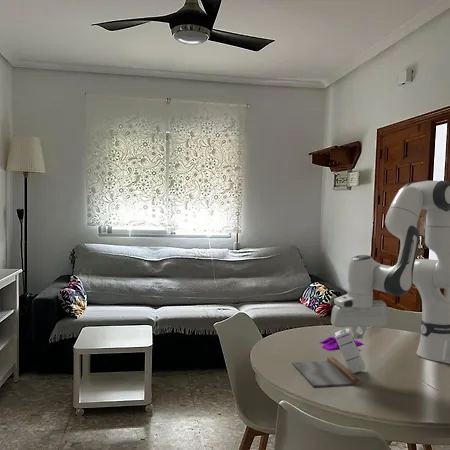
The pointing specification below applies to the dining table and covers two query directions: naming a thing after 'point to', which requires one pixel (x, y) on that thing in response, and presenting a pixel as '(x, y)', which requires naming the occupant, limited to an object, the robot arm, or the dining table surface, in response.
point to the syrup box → (349, 350)
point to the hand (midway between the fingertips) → (358, 338)
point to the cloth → (334, 344)
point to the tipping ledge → (326, 373)
